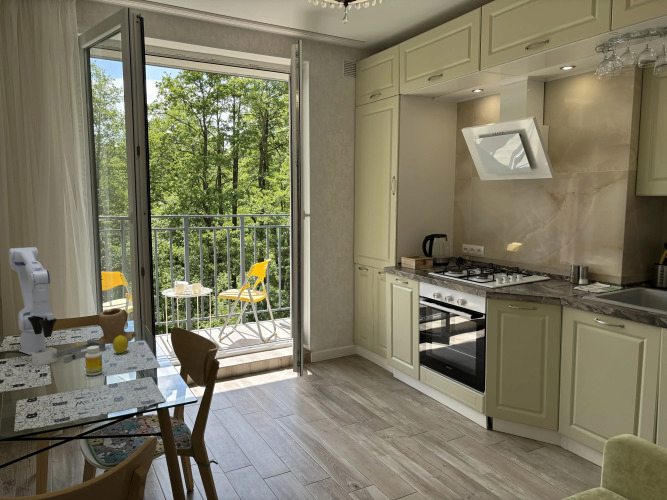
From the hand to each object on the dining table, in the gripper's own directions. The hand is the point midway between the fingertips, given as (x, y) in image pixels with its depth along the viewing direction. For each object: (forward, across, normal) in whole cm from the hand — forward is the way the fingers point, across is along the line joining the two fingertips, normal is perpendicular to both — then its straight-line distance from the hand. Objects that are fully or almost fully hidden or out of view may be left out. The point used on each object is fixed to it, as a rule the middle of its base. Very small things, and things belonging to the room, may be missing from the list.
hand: (43, 335), depth 187 cm
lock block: (+10, +3, -1) cm, 11 cm away
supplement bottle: (+10, +30, +3) cm, 32 cm away
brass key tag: (+10, -5, +18) cm, 21 cm away
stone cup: (+10, +1, +30) cm, 32 cm away
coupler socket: (+10, +4, +13) cm, 17 cm away
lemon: (+10, +18, +21) cm, 29 cm away
